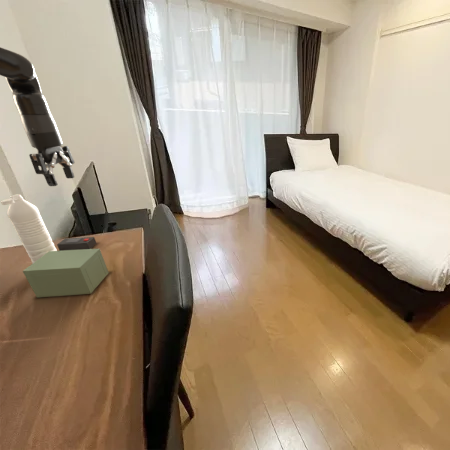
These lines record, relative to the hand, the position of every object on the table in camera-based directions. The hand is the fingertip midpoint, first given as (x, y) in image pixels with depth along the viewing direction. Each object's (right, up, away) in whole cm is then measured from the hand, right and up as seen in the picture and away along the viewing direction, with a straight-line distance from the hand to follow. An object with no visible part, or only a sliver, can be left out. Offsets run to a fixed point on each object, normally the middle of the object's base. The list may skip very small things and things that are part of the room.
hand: (62, 181), depth 89 cm
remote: (-3, -22, +10) cm, 25 cm away
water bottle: (-2, -29, -2) cm, 29 cm away
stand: (+12, -32, -9) cm, 35 cm away
